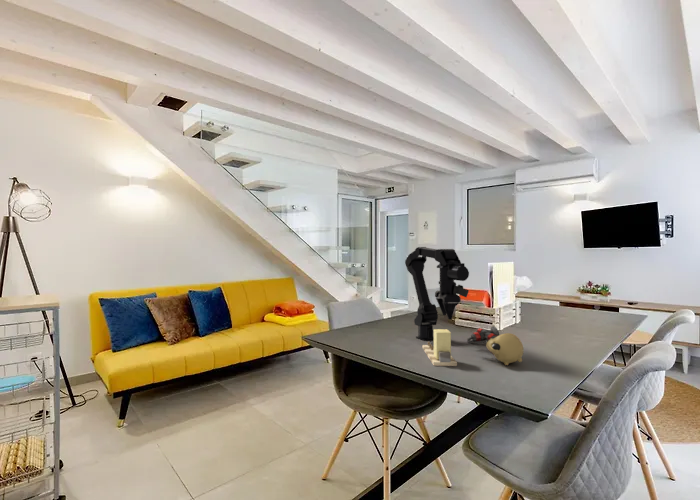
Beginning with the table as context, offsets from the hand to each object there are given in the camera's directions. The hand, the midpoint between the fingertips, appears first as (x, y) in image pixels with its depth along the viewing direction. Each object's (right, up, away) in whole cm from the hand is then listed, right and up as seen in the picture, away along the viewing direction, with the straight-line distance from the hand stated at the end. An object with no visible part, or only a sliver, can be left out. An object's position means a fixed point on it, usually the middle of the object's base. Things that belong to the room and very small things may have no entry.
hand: (447, 317), depth 140 cm
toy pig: (+15, -13, -19) cm, 28 cm away
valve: (+19, -13, +5) cm, 24 cm away
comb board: (-7, -13, -11) cm, 18 cm away
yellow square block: (-7, -11, -17) cm, 22 cm away
